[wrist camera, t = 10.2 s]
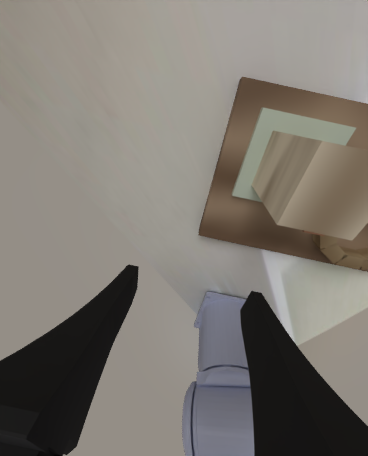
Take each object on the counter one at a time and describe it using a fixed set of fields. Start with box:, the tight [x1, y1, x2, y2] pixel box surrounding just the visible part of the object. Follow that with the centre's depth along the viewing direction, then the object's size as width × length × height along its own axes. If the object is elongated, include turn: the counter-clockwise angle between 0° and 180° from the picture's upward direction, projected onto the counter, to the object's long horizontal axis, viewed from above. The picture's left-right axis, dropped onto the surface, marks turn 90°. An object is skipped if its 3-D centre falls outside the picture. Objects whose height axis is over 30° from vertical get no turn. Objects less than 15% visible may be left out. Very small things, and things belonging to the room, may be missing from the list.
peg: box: [252, 131, 368, 240], centre depth 12 cm, size 4×4×7 cm
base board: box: [199, 77, 368, 272], centre depth 16 cm, size 14×21×3 cm, turn 79°
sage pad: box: [232, 108, 356, 202], centre depth 15 cm, size 7×7×1 cm
